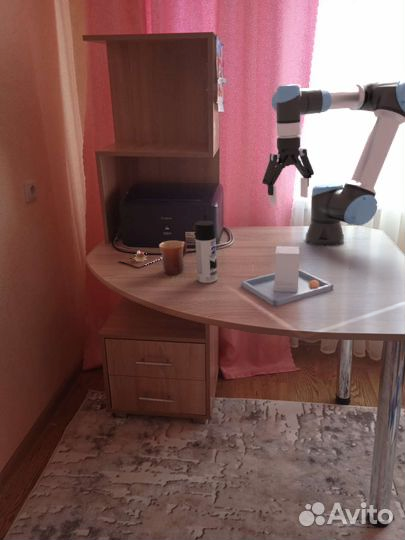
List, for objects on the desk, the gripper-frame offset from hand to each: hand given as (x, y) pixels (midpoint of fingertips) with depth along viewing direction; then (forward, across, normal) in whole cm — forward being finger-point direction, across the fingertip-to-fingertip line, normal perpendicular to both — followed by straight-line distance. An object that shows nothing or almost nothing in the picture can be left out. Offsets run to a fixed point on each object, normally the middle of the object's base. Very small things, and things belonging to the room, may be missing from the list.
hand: (288, 200), depth 160 cm
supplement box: (+22, +15, +16) cm, 32 cm away
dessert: (+23, +42, -37) cm, 60 cm away
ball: (+22, +10, +23) cm, 33 cm away
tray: (+23, +15, +16) cm, 32 cm away
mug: (+22, +35, -20) cm, 46 cm away
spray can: (+23, +31, -5) cm, 39 cm away
